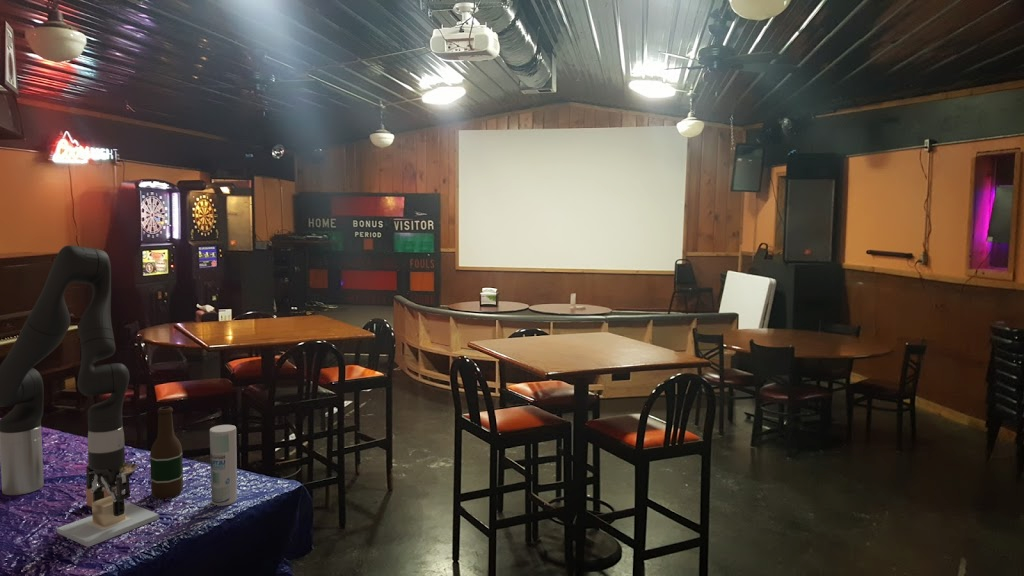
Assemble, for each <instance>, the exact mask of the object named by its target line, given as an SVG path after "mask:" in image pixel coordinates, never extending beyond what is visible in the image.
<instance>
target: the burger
mask: <svg viewBox="0 0 1024 576" xmlns="http://www.w3.org/2000/svg"><path fill="white" fill-rule="evenodd" d="M137 468H138V465H137V464H136V463H132V462H126V461H125V462H124V464H122V465H121V466H120V472H121V474H122V475H123V474H126V473H128V475H130V474H132V473H133V472H134V471H136V469H137ZM93 480H94V479H93Z"/></svg>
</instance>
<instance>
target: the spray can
mask: <svg viewBox="0 0 1024 576" xmlns="http://www.w3.org/2000/svg"><path fill="white" fill-rule="evenodd" d="M237 449H238V448H237V427H236V426H235V425H232V424H221V425H220V424H219V425H215V426H212V427H211V428H210V429H209V450H210V451H209V452H210V486H211V487H210V488H211V489H210V490H211V504H212V505H213V504H214V505H213V506H216V505H217V506H218V507H222V506H228V505H229V506H230V505H232V504H234V503H236V502H237V500H238V482H237V481H238V480H237V479H238V474H237V473H238V470H237V469H238V468H237V467H238V466H237V465H238V463H237V461H238V459H237V453H238V452H237Z"/></svg>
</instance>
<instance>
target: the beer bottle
mask: <svg viewBox="0 0 1024 576" xmlns="http://www.w3.org/2000/svg"><path fill="white" fill-rule="evenodd" d="M173 411H174V409H173V407H172V406H160V407H159V408H158V409H157V412H156V414H158V417H157V418H158V423H157V434H156V435H157V436H156V438H155V440H154V441H153V443H152V446H151V448H150V454H149V455H150V456H149V457H150V458H149V461H150V462H149V463H150V490H151V496H152V497H154V498H155V499H159V500H161V499H170V498H173V497H177V496H179V495H180V494H181V493H182V492H181V491H183V490H184V469H183V468H184V466H183V465H184V464H183V463H184V462H183V460H184V458H183V447H182V444H181V442H180V440H179V438H178V437H177V436H176V434H175V430H174V421H173V420H174V419H173Z"/></svg>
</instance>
